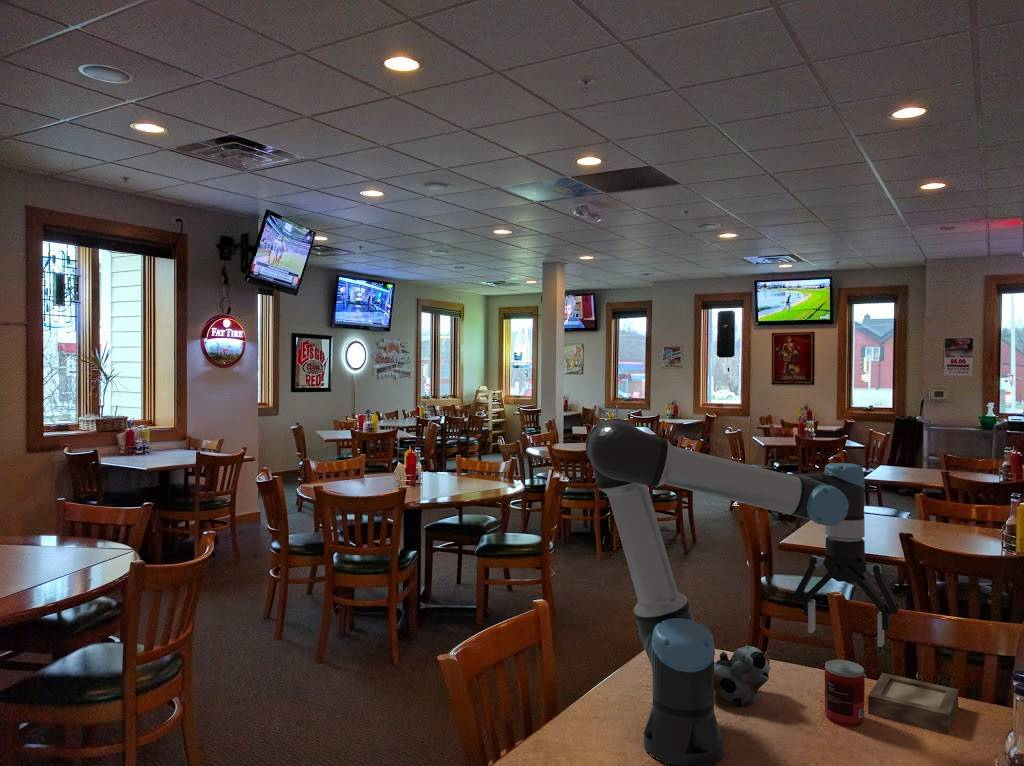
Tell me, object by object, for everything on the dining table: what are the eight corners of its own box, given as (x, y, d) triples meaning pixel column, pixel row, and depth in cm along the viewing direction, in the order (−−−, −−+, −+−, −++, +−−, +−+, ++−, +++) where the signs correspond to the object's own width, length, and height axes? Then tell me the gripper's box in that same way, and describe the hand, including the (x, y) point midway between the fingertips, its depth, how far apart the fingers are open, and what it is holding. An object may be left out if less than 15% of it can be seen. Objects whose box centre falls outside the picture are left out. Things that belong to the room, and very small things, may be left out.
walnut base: (868, 713, 158) (868, 695, 158) (882, 689, 170) (882, 672, 169) (949, 733, 149) (949, 715, 148) (958, 706, 160) (958, 689, 160)
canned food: (856, 710, 159) (856, 659, 159) (870, 728, 151) (870, 674, 151) (819, 709, 160) (819, 658, 160) (831, 726, 152) (831, 673, 152)
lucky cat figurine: (713, 677, 176) (742, 627, 176) (757, 711, 169) (788, 659, 168) (690, 679, 164) (721, 626, 164) (736, 716, 157) (769, 660, 156)
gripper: (914, 541, 150) (915, 645, 151) (789, 527, 165) (790, 621, 166) (908, 548, 144) (908, 656, 145) (779, 533, 159) (779, 630, 160)
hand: (845, 638), depth 155 cm, fingers open, 13 cm apart
